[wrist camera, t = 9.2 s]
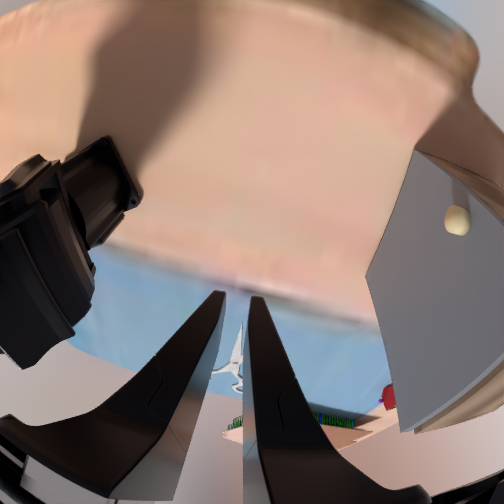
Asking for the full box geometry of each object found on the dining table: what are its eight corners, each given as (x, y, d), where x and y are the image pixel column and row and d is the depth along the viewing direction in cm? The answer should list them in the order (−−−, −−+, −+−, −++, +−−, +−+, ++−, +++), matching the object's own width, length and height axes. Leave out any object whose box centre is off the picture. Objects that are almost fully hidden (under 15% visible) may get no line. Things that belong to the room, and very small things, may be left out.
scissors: (186, 382, 40) (212, 315, 28) (187, 378, 41) (213, 309, 29) (248, 398, 41) (304, 340, 29) (248, 394, 42) (304, 335, 30)
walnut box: (374, 275, 23) (414, 434, 11) (422, 151, 16) (564, 296, 4) (444, 284, 23) (494, 410, 11) (494, 182, 16) (598, 300, 4)
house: (272, 396, 41) (269, 440, 35) (381, 421, 50) (384, 450, 44) (213, 421, 54) (207, 451, 47) (316, 443, 63) (316, 467, 56)
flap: (357, 275, 23) (389, 434, 12) (405, 146, 16) (546, 288, 4) (372, 277, 23) (410, 430, 12) (422, 152, 16) (559, 291, 4)
